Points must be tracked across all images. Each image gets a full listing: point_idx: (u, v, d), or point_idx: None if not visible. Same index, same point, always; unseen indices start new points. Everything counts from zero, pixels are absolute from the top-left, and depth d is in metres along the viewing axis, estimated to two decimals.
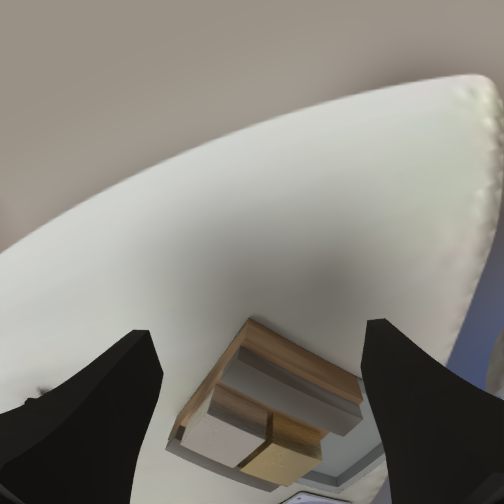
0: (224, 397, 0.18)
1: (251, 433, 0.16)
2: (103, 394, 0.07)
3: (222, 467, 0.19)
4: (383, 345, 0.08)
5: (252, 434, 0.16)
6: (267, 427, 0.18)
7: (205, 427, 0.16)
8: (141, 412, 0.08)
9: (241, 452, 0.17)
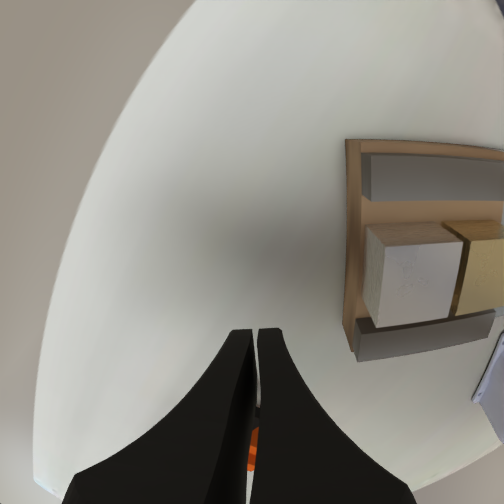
0: (386, 229, 0.14)
1: (445, 242, 0.12)
2: (235, 403, 0.06)
3: (430, 336, 0.15)
4: (258, 356, 0.08)
5: (446, 242, 0.12)
6: None
7: (393, 271, 0.12)
8: (249, 418, 0.08)
9: (447, 282, 0.12)
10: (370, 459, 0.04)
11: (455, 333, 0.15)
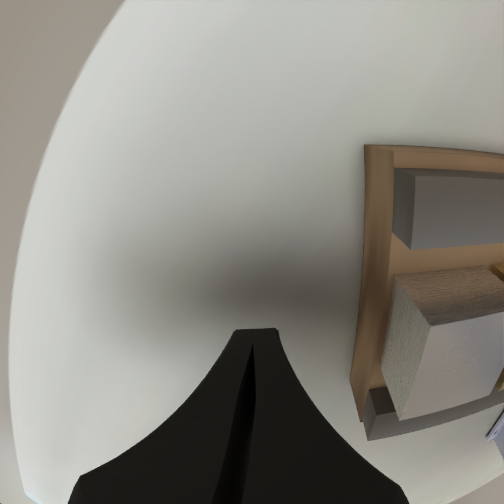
0: (425, 284, 0.09)
1: None
2: (240, 403, 0.06)
3: (459, 406, 0.10)
4: (254, 356, 0.08)
5: None
6: None
7: (435, 356, 0.07)
8: (253, 418, 0.08)
9: (499, 358, 0.07)
10: (364, 460, 0.04)
11: (488, 397, 0.10)
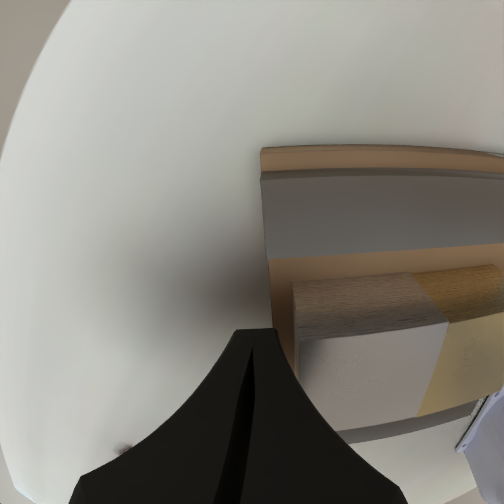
0: (321, 293, 0.09)
1: (416, 325, 0.07)
2: (241, 403, 0.06)
3: (383, 425, 0.11)
4: (253, 356, 0.08)
5: (418, 326, 0.07)
6: None
7: (319, 373, 0.07)
8: None
9: (417, 379, 0.07)
10: (362, 460, 0.04)
11: (422, 418, 0.10)
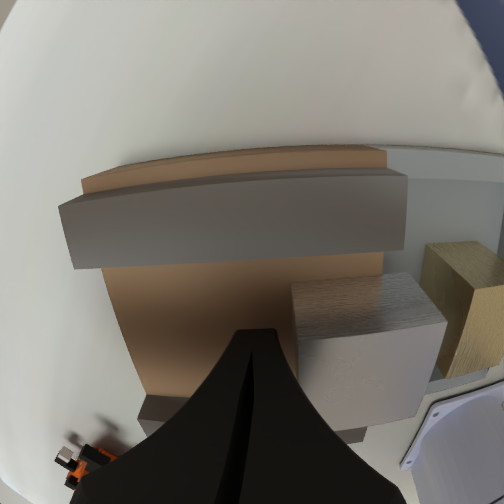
0: (320, 293, 0.09)
1: (414, 325, 0.07)
2: (241, 403, 0.06)
3: None
4: None
5: (416, 326, 0.07)
6: (490, 304, 0.08)
7: (317, 373, 0.07)
8: None
9: (416, 379, 0.07)
10: (361, 460, 0.04)
11: None
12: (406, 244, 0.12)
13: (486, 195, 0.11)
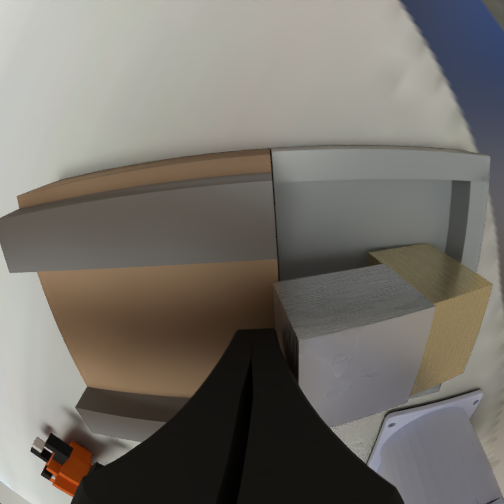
0: (305, 291, 0.09)
1: (406, 312, 0.07)
2: (242, 403, 0.06)
3: None
4: None
5: (408, 313, 0.07)
6: (449, 316, 0.08)
7: (317, 371, 0.07)
8: None
9: (408, 365, 0.08)
10: (360, 461, 0.04)
11: None
12: (326, 250, 0.12)
13: (425, 195, 0.11)
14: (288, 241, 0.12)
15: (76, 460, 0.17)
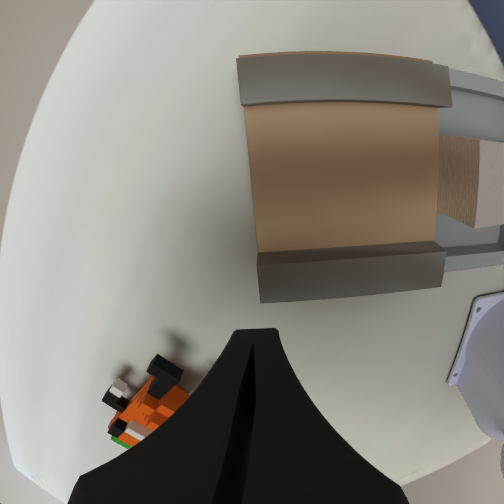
0: (460, 136, 0.12)
1: None
2: (240, 404, 0.06)
3: (352, 276, 0.14)
4: (254, 356, 0.08)
5: None
6: None
7: (486, 166, 0.10)
8: (253, 418, 0.08)
9: None
10: (364, 460, 0.04)
11: (390, 275, 0.14)
12: None
13: (492, 110, 0.13)
14: None
15: (177, 390, 0.20)
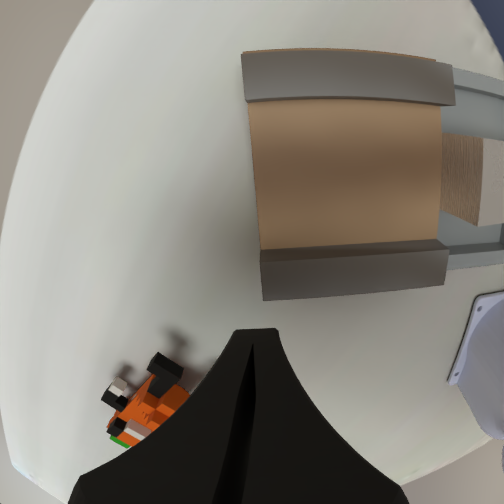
0: None
1: None
2: (240, 403, 0.06)
3: (356, 273, 0.14)
4: (254, 356, 0.08)
5: None
6: None
7: (489, 164, 0.10)
8: (253, 418, 0.08)
9: None
10: (364, 460, 0.04)
11: (393, 273, 0.14)
12: None
13: (494, 109, 0.13)
14: None
15: (178, 389, 0.19)
